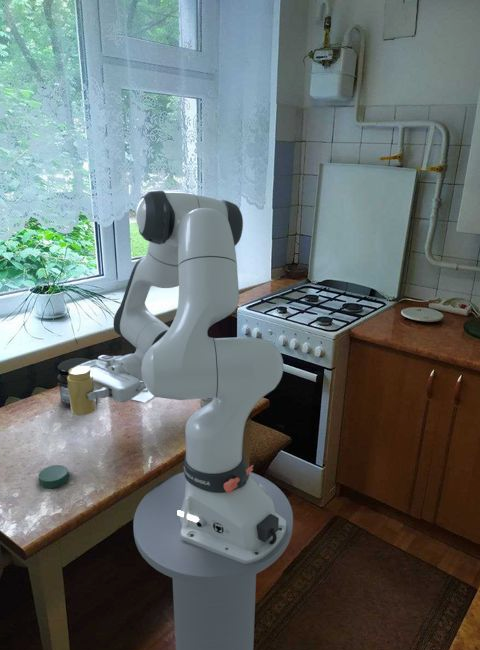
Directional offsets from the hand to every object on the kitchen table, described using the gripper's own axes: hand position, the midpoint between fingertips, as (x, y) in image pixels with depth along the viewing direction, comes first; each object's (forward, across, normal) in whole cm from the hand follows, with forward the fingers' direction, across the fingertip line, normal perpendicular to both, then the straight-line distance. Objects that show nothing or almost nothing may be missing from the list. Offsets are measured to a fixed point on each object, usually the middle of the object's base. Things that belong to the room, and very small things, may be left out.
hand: (78, 392), depth 119 cm
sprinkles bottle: (-31, -14, -15) cm, 37 cm away
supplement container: (-13, +20, -15) cm, 28 cm away
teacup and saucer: (-32, +17, -15) cm, 39 cm away
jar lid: (+13, -7, -13) cm, 20 cm away
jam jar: (-1, 0, -5) cm, 5 cm away
